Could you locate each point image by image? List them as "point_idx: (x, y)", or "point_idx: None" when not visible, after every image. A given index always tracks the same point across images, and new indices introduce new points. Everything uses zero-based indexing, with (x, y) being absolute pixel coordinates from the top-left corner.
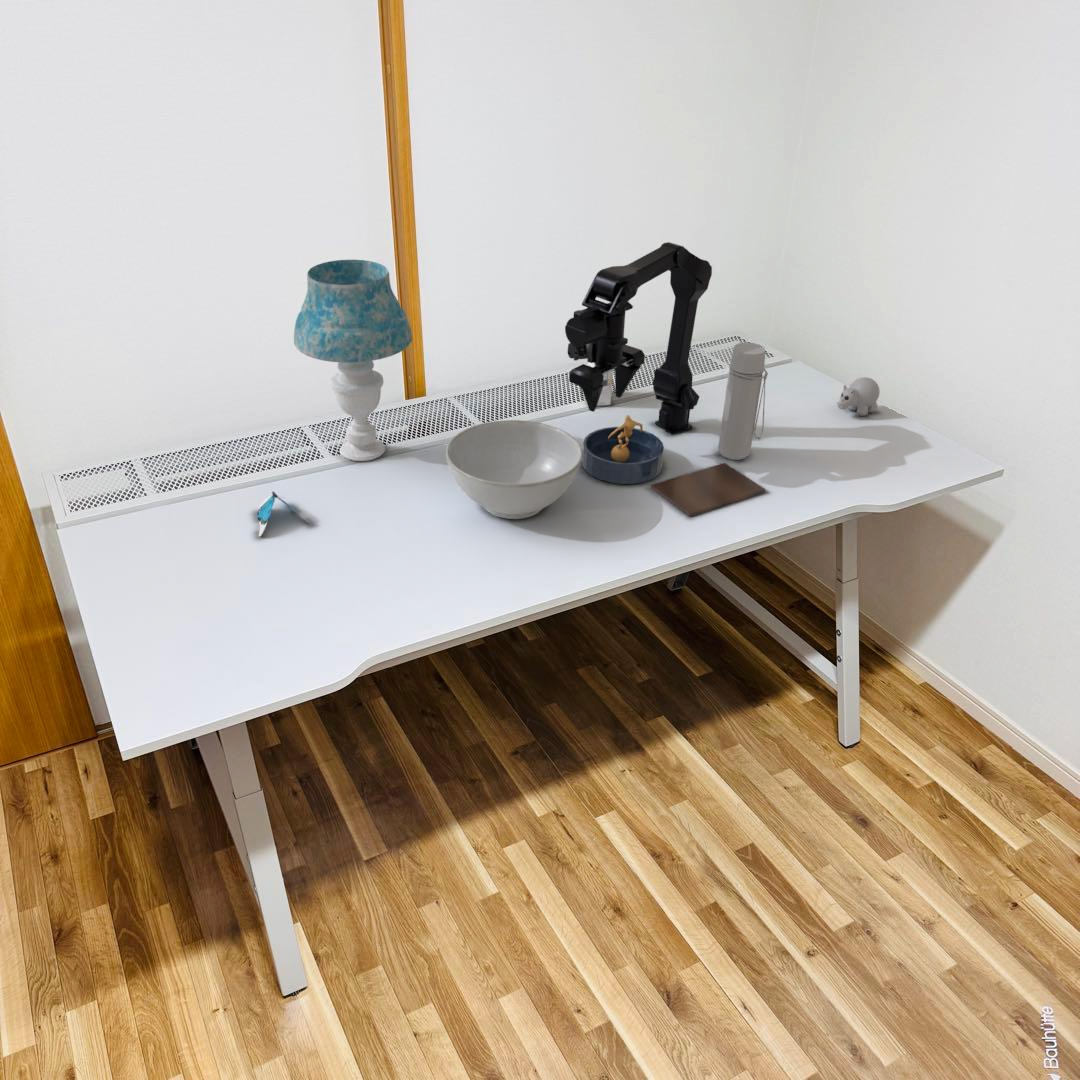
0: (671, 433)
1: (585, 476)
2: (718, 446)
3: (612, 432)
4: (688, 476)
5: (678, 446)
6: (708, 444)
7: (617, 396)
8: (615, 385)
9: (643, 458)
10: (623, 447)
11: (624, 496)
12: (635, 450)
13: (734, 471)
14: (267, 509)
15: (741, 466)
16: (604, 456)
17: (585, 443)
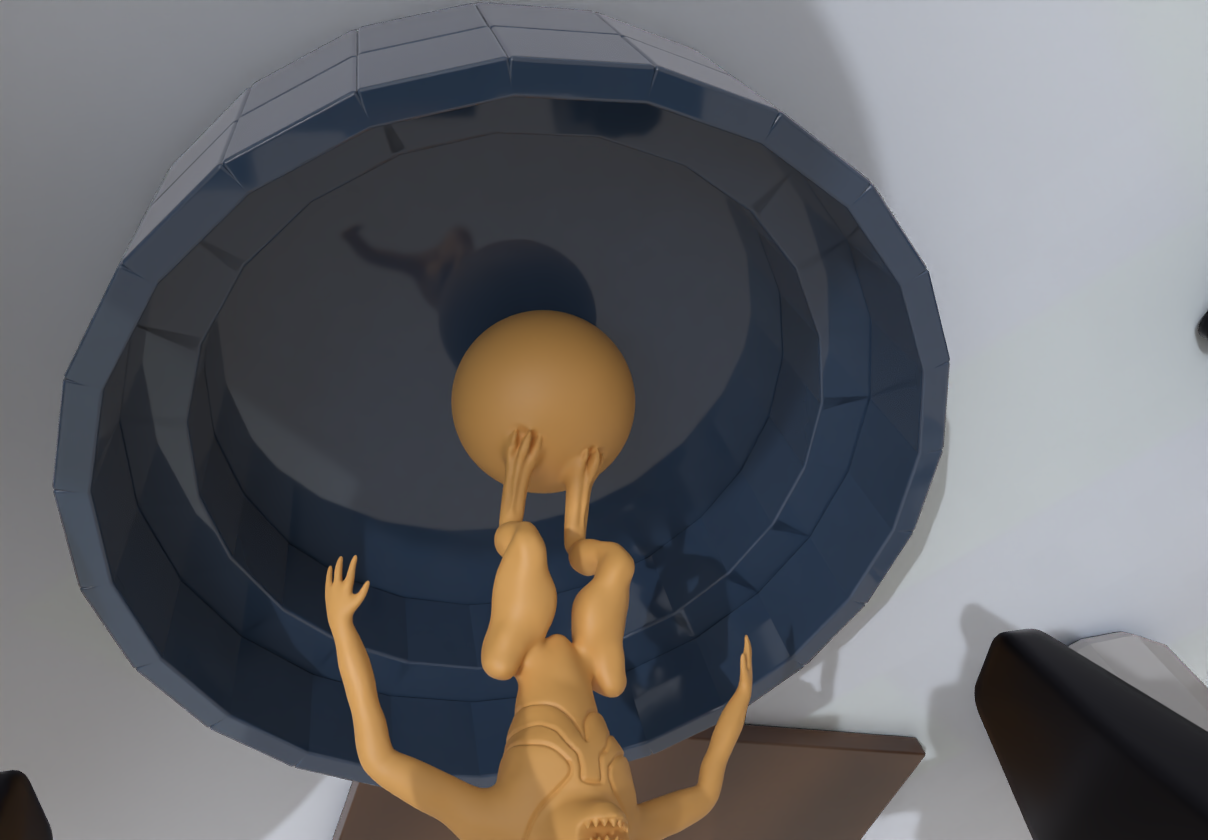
0: (1202, 334)
1: (66, 300)
2: (1091, 657)
3: (351, 681)
4: (654, 757)
5: (1035, 462)
6: (1137, 554)
7: (996, 665)
8: (1200, 820)
9: (714, 440)
10: (554, 481)
11: (133, 676)
12: (784, 336)
13: (860, 822)
14: None
15: (955, 773)
16: (518, 195)
17: (212, 219)
